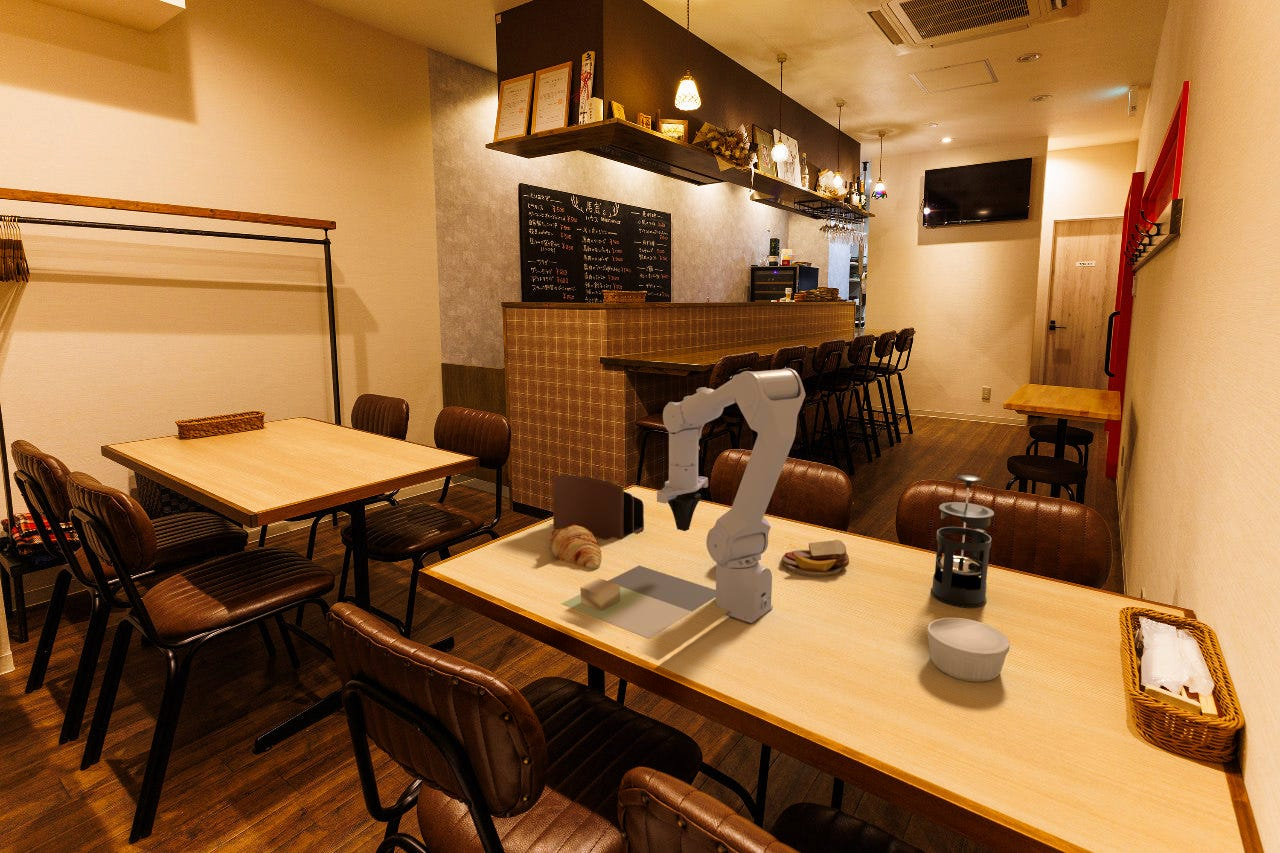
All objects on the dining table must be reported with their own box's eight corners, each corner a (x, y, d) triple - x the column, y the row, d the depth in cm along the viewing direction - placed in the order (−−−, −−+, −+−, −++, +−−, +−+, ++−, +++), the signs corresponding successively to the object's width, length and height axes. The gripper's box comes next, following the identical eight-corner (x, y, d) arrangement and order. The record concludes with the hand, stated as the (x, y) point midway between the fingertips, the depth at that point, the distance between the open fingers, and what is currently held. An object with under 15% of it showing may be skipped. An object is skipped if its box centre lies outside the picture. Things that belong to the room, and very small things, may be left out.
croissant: (609, 587, 137) (625, 551, 138) (570, 575, 132) (586, 537, 132) (565, 552, 155) (579, 520, 155) (528, 540, 150) (543, 507, 150)
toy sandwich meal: (783, 552, 147) (784, 532, 146) (847, 558, 143) (849, 537, 142) (779, 575, 135) (780, 553, 134) (849, 582, 131) (850, 559, 130)
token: (620, 600, 121) (620, 585, 120) (601, 610, 117) (601, 594, 117) (599, 593, 124) (599, 578, 123) (580, 602, 120) (580, 587, 120)
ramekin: (936, 639, 109) (939, 609, 108) (1013, 662, 102) (1017, 630, 101) (914, 669, 101) (917, 636, 100) (997, 696, 94) (1000, 662, 93)
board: (722, 597, 125) (722, 592, 124) (649, 644, 108) (649, 638, 108) (639, 570, 137) (639, 565, 137) (561, 608, 120) (561, 603, 120)
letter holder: (622, 544, 152) (621, 484, 149) (552, 529, 162) (551, 472, 159) (644, 531, 160) (644, 474, 157) (577, 517, 170) (576, 463, 167)
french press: (966, 614, 118) (978, 487, 113) (918, 594, 125) (927, 475, 121) (1001, 596, 124) (1014, 476, 120) (953, 579, 132) (963, 466, 127)
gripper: (688, 453, 139) (687, 515, 141) (644, 466, 128) (644, 534, 130) (717, 458, 134) (715, 522, 137) (674, 472, 123) (673, 543, 126)
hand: (682, 529), depth 133 cm, fingers closed
